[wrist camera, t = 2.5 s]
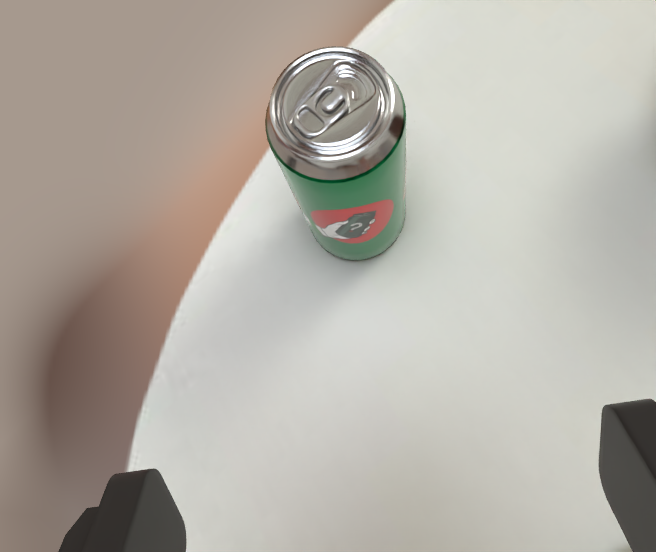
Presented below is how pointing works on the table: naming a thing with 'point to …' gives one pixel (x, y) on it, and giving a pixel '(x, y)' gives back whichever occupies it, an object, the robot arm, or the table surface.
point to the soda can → (342, 148)
